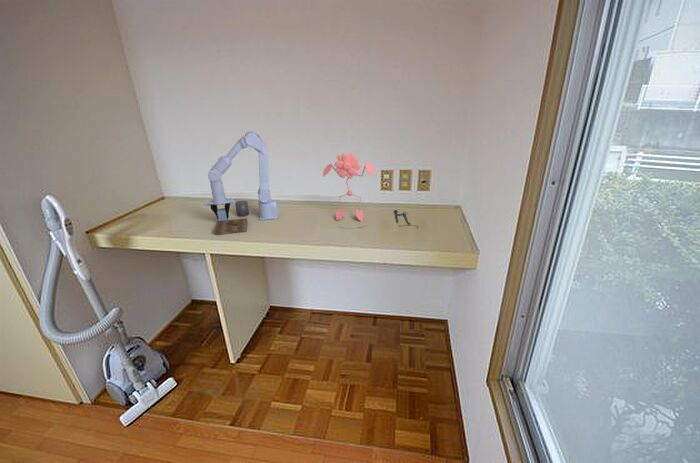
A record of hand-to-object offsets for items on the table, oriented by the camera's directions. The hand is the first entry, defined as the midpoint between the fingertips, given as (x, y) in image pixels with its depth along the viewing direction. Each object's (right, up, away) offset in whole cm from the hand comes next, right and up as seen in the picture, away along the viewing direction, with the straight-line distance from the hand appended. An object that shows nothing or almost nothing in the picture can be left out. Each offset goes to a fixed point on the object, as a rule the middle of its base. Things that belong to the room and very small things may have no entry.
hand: (223, 218), depth 166 cm
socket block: (+7, -6, -7) cm, 11 cm away
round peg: (+7, +2, +11) cm, 13 cm away
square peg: (0, -2, +1) cm, 2 cm away
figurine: (+65, -3, -3) cm, 65 cm away
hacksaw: (+94, -1, 0) cm, 94 cm away
